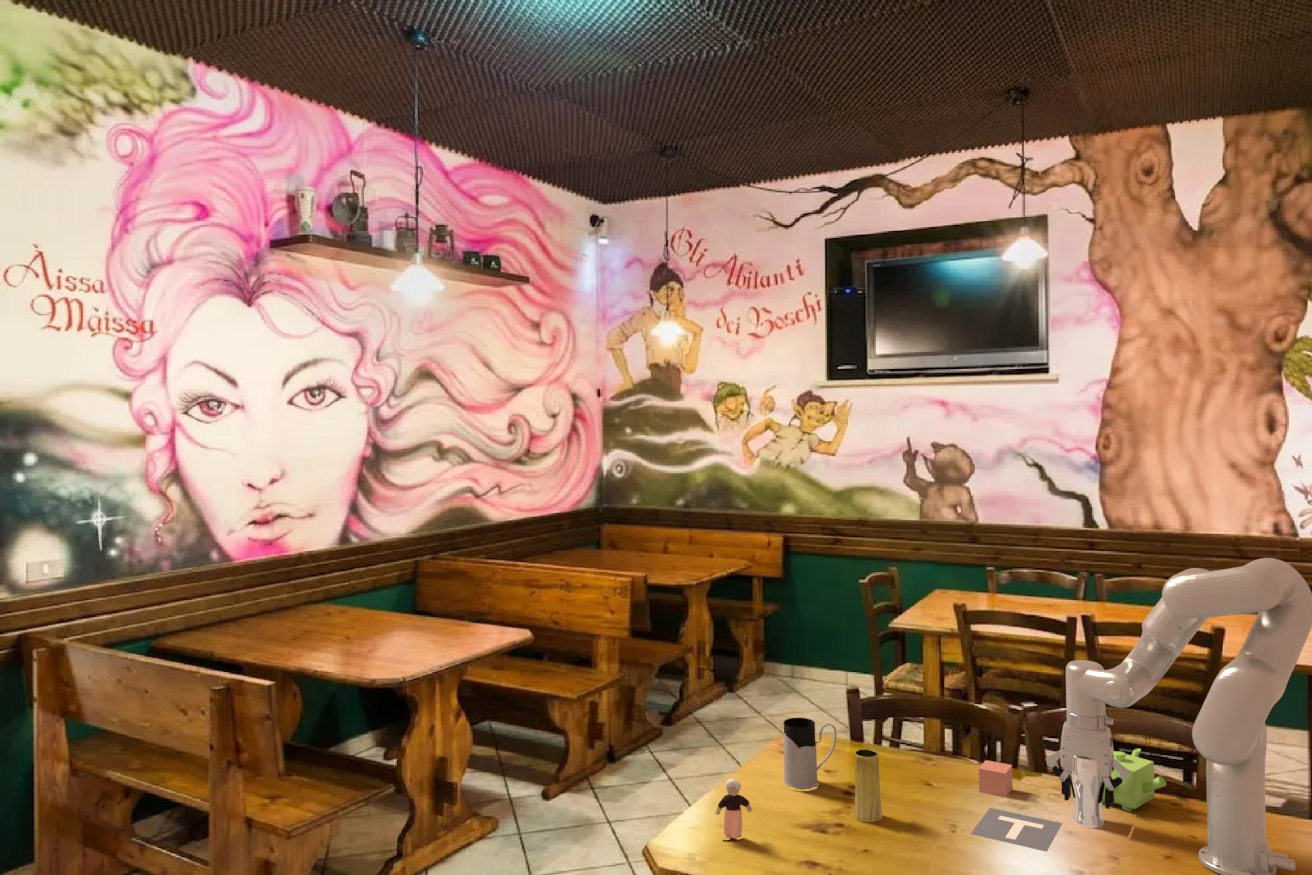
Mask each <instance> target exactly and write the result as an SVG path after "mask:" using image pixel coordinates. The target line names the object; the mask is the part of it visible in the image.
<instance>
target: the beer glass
mask: <svg viewBox="0 0 1312 875" xmlns="http://www.w3.org/2000/svg"><path fill="white" fill-rule="evenodd" d="M1068 776H1069V778H1070V783H1071V792H1072V797H1073V804H1074V805H1073V807H1074V809H1073V816H1072V821H1073V823H1074V824H1076V826H1077V825H1078V826H1080V827H1083V828H1087V829H1099V828H1103V827H1104V825H1105V822H1104V816H1103V808H1102V807H1103V804H1102V800H1103V795H1104V789H1105V783H1104V781H1103V778H1102V777H1100V773H1099V769H1098V766H1097V761H1096V759H1083V758H1079V757H1076V756H1073V761H1072V767H1071V771H1070V774H1069V775H1068Z"/></svg>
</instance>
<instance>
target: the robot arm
mask: <svg viewBox="0 0 1312 875" xmlns="http://www.w3.org/2000/svg"><path fill="white" fill-rule="evenodd" d="M1255 613H1257V615H1256V617H1255V620H1254V621H1253V623H1252V624H1251V627H1250V628H1249V631H1248V634H1247V637H1246V638H1245V640H1244V642H1243V644H1242V647H1241V648H1240V651H1239V652H1238V654H1237V655H1236V657H1235V658H1234V659H1232V660H1231V661H1230V662H1228V663H1227V664H1226V665H1225V666H1223V668H1221V670H1219V673H1218V674H1217V675H1216V677H1215V679H1214V681H1213V682H1212V684H1211V687H1210V689H1209V691H1208V693H1207V695H1206V697H1205V700H1204V702H1203V703H1202V706H1201V708H1200V711H1199V712H1198V714H1197V716H1196V719H1195V720H1194V724H1193V725H1192V726H1193V727H1192V731H1191V732H1192V734H1191V736H1192V741H1193V744H1194V746H1195V748H1196V750H1197V752H1198V753H1199V754H1200V755H1201V757H1203V758H1204V759H1206V761H1205V762H1206V765H1205V766H1206V768H1205V769H1206V770H1205V771H1206V776H1205V777H1206V781H1205V782H1206V784H1205V785H1206V823H1207V824H1206V825H1207V827H1206V828H1207V845H1205V846H1203V847H1201V848H1200V849H1199V851H1198V860H1199V862H1200V863H1201V864H1202V866H1204V867H1206V868H1207V869H1208V870H1210V871H1212V872H1215V873H1217V874H1219V875H1277V868H1280V869H1284V870H1286V871H1287V870H1288V871H1292V872H1296V860H1295V859H1290V858H1288V857H1289V856H1288V854H1285V853H1281V852H1280V853H1278V852H1274V851H1273V850H1272V849H1269V846H1270V845H1269V842H1267V830H1266V829H1267V823H1266V758H1267V757H1266V755H1267V744H1268V732H1267V731H1268V728H1267V725H1266V720H1267V719H1268V716H1269V715H1270V712H1271V711H1272V708H1273V707H1274V705H1276V704H1277V703H1278V702H1279V700H1280V699H1281V698H1282V697H1283V695H1284V693H1285V691H1286V688H1287V685H1288V682H1289V680H1290V677H1291V675H1292V672H1294V669H1295V666H1296V664H1297V663H1298V660H1299V658H1300V656H1301V653H1302V650H1303V648H1304V647H1305V644H1306V642H1307V640H1308V637H1309V635H1310V633H1311V630H1312V591H1311V588H1310V587H1309V585H1308V583H1307V582H1306V580H1305V579H1304V577H1303V576H1302V575H1301V574H1300V573H1299V572H1298V570H1296V569H1295V568H1294V567H1293V566H1291V565H1290V564H1289V563H1287V562H1285V561H1283V560H1281V559H1278V558H1272V557H1263V558H1258V559H1254V560H1253V561H1250V562H1248V563H1246V564H1244V565H1243V566H1237V567H1232V568H1231V567H1230V568H1224V569H1217V570H1208V569H1206V568H1200V567H1193V568H1188V569H1184V570H1183V571H1180V572H1178V573H1177V574H1174V575H1172V576H1171V577H1169V578H1168V579H1167V580H1166V582H1165V583H1164V585H1163V588H1162V592H1161V598H1159V601H1157V603H1156V604H1155V605H1154V607H1153V608H1152V609H1151V611H1150V612H1149V613H1148V615H1146V617H1145V618H1144V619H1143V621H1142V624H1141V629H1142V633H1141V636H1140V638H1139V639H1138V641H1137V642H1136V644H1135V646H1133V648H1132V650H1131V651H1130V652H1129V653H1128V655H1127V656H1126V658H1124V660H1123V661H1122V662H1121V663H1120V664H1118V665H1116V666H1115V667H1113V668H1109V669H1104V666H1102V665H1101V664H1100V663H1098V662H1095V661H1092V660H1087V659H1086V660H1084V659H1077V660H1071V661H1069V662H1068V663H1067V664H1066V666H1065V694H1066V695H1065V702H1066V720H1065V721H1064V723H1063V725H1062V731H1061V737H1060V739H1061V740H1060V749H1059V750H1057V751H1055V752H1054V753H1052V754H1050V755H1048V756H1047V757H1046V758H1045V762H1046V763H1047V764H1048V765H1049V767H1050V768H1051V770H1052V772H1053V773H1054V774H1055V775H1056V777H1058V778H1059V781H1060V783H1061V785H1060V786H1061V794H1062V795H1064V798H1063V799H1064V801H1067V802H1068V801H1069V799H1070V798H1071V796H1072V794H1071V792H1072V788H1071V783H1070V775H1069V774H1070V771H1071V767H1072V761H1073V756H1076V757H1079V758H1083V759H1096V761H1097V766H1098V769H1099V773H1100V777H1102V778H1103V781H1104V783H1105V785H1106V789H1105V804H1104V808H1105V809H1107V810H1110V807H1111V806H1112V805H1114V804H1115V803H1114V789H1115V788H1116V787H1117V786H1119V785H1120V784H1121V783H1122V782H1123V781H1124V780H1125V779H1126V778H1127V777H1128V776H1129V774H1130V772H1129V771H1128V770H1127V769H1126V768H1125V767H1124V766H1123V765H1121V764H1120V763H1119V762H1118V761H1117V760H1116V759H1114V751H1115V750H1114V744H1113V743H1114V742H1113V736H1112V732H1111V728H1110V727H1109V726H1113V725H1114V719H1113V718H1111V717H1108V716H1107V713H1106V705H1108V706H1111V707H1113V708H1114V707H1115V708H1119V709H1120V708H1121V709H1122V708H1123V709H1124V708H1128V707H1131V706H1133V705H1134V704H1135V703H1137V702H1138V701H1140V700H1141V699H1142V698H1143V697H1145V696H1147V695H1148V694H1149V693H1150V692H1151V691H1152V690H1153V689H1154V688H1155V687H1156V685H1157V684H1158V683H1159V681H1160V680H1161V679H1162V678H1163V677H1164V676H1165V674H1166V673H1167V672H1168V670H1169V669H1170V668H1171V666H1172V665H1173V663H1174V662H1175V661H1176V659H1177V658H1179V656H1180V655H1181V654H1182V653H1183V650H1184V649H1185V648H1186V646H1188V643H1190V641H1191V640H1192V638H1194V636H1195V635H1196V634H1197V632H1198V631H1199V630H1200V628H1201V627H1202V626H1203V625H1204V624H1205V622H1207V621H1208V619H1209V618H1219V617H1227V616H1235V615H1237V616H1238V615H1248V614H1255ZM1058 760H1059V761H1060V762H1059V763H1060V765H1058V764H1057V762H1056V761H1058ZM1114 768H1115V769H1116V770H1117V771H1118V772H1119V773H1120V775H1119V776H1117V777H1116V778H1115V779H1113V778H1112V776H1111V773H1112V771H1114Z"/></svg>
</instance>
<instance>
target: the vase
mask: <svg viewBox="0 0 1312 875" xmlns="http://www.w3.org/2000/svg"><path fill="white" fill-rule="evenodd" d="M853 753H854V754H853V761H854V762H853V765H854V812H853V816H854V818H855V819H856V820H857V821H859V822H862V823H868V824H871V823H872V824H873V823H878V822H881V820H882V819H883V813H882V800H881V798H882V797H881V782H880V780H881V779H880V778H881V777H880V761H879V760H880V759H879V754H880V753H879V752H878V751H876V750H875V749H871V748H859V749H856V750H855V751H854V752H853Z"/></svg>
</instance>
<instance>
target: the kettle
mask: <svg viewBox="0 0 1312 875" xmlns="http://www.w3.org/2000/svg"><path fill="white" fill-rule="evenodd" d="M1141 752H1142V749H1141V748H1134V749H1133V750H1132V753H1131V754H1127V753H1126V752H1124V751H1115V750H1114V759H1116V760H1117V761H1118V762H1119V763H1120V764H1121V765H1123V766H1124V767H1125V768H1126V769H1127V770H1128V771H1129V772H1130V774H1129V776H1128V777H1127V778H1126V779H1125V780H1124V781H1123V782H1122V783H1121V784H1120V785H1119V786H1117V787H1116V788H1115V789H1114V804H1118V805H1119V806H1121V810H1122V809H1123V810H1122V811H1124V810H1125V811H1124V812H1127V811H1132V810H1133V811H1134V810H1137V809H1138V808H1139V807H1141V806H1143V804H1144V805H1145V804H1147V803H1149V802H1150V801H1152V800H1153V799H1155V790H1158V789H1161V788H1164V787H1166V786H1167V782H1166V779H1164V778H1163V776H1160V775H1159V776H1158V777H1156V778H1155V768H1154V766H1155V764H1154V763H1155V762H1154V761H1153V760H1149V759H1145V758H1142V757H1139V756H1140V753H1141ZM1119 775H1120V773H1119V772H1118V771H1117V770H1116V769H1115V768H1114V771H1112V773H1111V776H1112V778H1113V779H1115V778H1116V777H1117V776H1119ZM1105 789H1106V785H1105ZM1105 789H1104V795H1103V800H1102V805H1105ZM1133 811H1132V812H1133Z"/></svg>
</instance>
